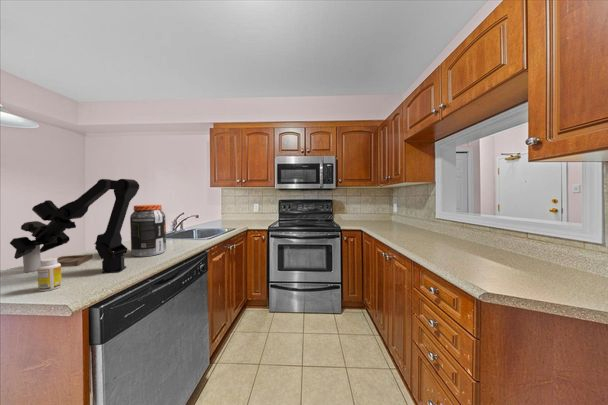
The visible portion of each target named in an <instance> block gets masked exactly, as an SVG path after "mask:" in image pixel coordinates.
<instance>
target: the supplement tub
mask: <svg viewBox="0 0 608 405" xmlns="http://www.w3.org/2000/svg"><path fill="white" fill-rule="evenodd" d="M129 224H130V250H131V251H130V254H131V255H132V256H134V257H151V256H157V255H161V254H163V253H165V252H167V251H166V250H167V232H166V231H167V230H166V229H167V228H166V227H167V226H166V214H165V212H164V211H163V210H162V205H161V204H141V205H138V204H137V205H133V212H132V213H131V214H130V217H129Z"/></svg>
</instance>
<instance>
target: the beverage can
mask: <svg viewBox="0 0 608 405" xmlns="http://www.w3.org/2000/svg"><path fill="white" fill-rule="evenodd" d="M40 249H41V245H37V246H36V248H35V249H34V250H32V252H31V253H29V254H26V255H24V256H22V263H23V264H22V265H23V272H24V273H27V274H29V273H36V272H37V268H38V267H39V266H41V264H40V263H41V262H40V261H41V260H42V258H41V253H40Z"/></svg>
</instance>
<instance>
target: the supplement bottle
mask: <svg viewBox="0 0 608 405" xmlns="http://www.w3.org/2000/svg"><path fill="white" fill-rule="evenodd" d="M57 258H58V257H48V258H47V257H46V258H43V259H41V261H40V262H41V263H40V264H41V266H39V267H38V268H37V271H36V272H37V283H38V284H37V286H38V287H37V288H38V291H40V292H48V291H53V290H57V289H58V288H60V287H62V286H63V281H62V278H63V277H62V267H61V264H60V263H57Z"/></svg>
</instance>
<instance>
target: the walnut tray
mask: <svg viewBox="0 0 608 405" xmlns="http://www.w3.org/2000/svg"><path fill="white" fill-rule="evenodd" d="M56 258H57V263H60V264H61V268H65V267H77V266H81V265H82V264H85V263H86V262H88V261H90V260H93V258H94V256H93V254H79V255H77V254H76V255H75V254H74V255H63V256H62V255H61V256H59V257H56Z"/></svg>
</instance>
